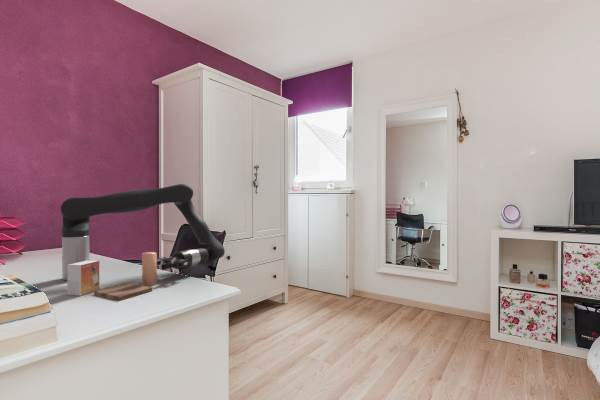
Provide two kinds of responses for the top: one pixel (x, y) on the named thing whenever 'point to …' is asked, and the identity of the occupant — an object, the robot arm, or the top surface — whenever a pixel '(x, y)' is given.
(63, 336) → the top surface
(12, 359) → the top surface
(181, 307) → the top surface
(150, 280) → the terracotta canister
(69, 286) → the small box
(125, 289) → the walnut board
